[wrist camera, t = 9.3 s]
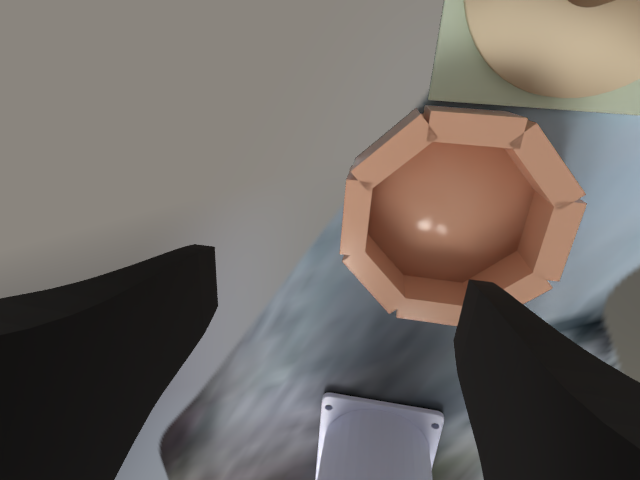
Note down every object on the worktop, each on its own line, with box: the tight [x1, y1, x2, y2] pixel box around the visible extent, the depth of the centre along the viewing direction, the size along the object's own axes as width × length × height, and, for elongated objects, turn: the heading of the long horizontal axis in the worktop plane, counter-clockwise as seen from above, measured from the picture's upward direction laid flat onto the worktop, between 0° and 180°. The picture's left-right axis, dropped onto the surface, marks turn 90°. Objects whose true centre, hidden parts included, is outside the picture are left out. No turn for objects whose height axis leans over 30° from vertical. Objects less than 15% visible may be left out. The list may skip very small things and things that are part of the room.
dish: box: [340, 105, 587, 326], centre depth 19 cm, size 10×10×3 cm
